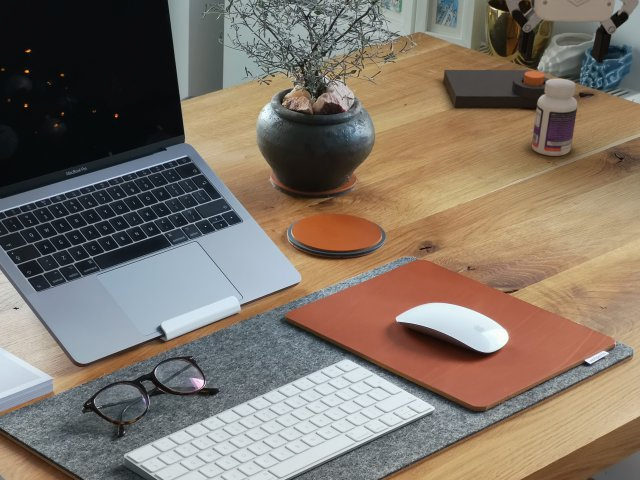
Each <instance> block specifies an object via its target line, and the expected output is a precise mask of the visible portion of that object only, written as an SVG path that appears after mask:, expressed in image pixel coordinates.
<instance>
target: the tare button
mask: <svg viewBox="0 0 640 480" xmlns="http://www.w3.org/2000/svg"><path fill="white" fill-rule="evenodd" d="M544 77H545V73H544V72H541V71H537V70H531V71H528V72H525V74H524V81H523V83H524V84H526V85H531V86H540V85H543V83H544Z"/></svg>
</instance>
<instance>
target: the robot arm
mask: <svg viewBox="0 0 640 480" xmlns="http://www.w3.org/2000/svg"><path fill="white" fill-rule="evenodd" d="M504 1H505V3H506V6H507V8H508V11H509V14H510V16H511V17H512V19H513V20H514V21H515V22H516V23H517V25H518V26H519V27H520V33H519V39H518V47H517V51H518V54H520V56H521V57H522V59H523V61H524V62H525V63H527V62H528V63H529V62H530V61H532V58H533V51H534V49H533V48H534V44H535V38H536V33H535V31H534V28H535V27H536V26H538V25H539V24H540V23H541V22H542V21H548V22H572V23H573V22H574V23H576V22H577V23H579V22H580V23H585V22H586V23H597V22H598V23H599V24H600V25H599V26H597V28H596V30H595V36H594V40H593V46H592V51H591V57H592V58H593V59H594V61H595V62H596V63H597V64H603V63H604V59H605V56H607V55H609V51H610V45H611V40H612V35H613V34H615V33H616V31H617V29H618V28H620V27H621V26H622V25H623V24H625V23H626V22H627V21H628V20H629V17H630V16H631V15H632V13H633V12H634V10H635V9H636V8H637V6H638V5H639V4H640V1H639V0H619V1H620V2H622V5H621V7H620V9H619V10H617V11H615V13H614V10H615V5H616V0H530V3H529V4H530V8H529V10H527V11H526V13H525V14H524V13H523V12H522V11H521V9H520V5H519V4H520V2H522V1H523V0H504Z"/></svg>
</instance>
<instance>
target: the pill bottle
mask: <svg viewBox="0 0 640 480" xmlns="http://www.w3.org/2000/svg"><path fill="white" fill-rule="evenodd" d="M549 79H550V80H547V81H546V84H545V91H544V92H545V94H544V95H542V96H541V97H540V98H539V99H538V102H537V108H535V109H536V110H535V117H534V124H533V130H532V140H531V148H532V150H533V151H534V152H536V153H538V154H541V155H543V156H544V155H545V156H551V157H559V156H564V155H567V154H569V152H570V151H571V149H572V145H573V138H574V132H575V131H574V130H575V125H576V120H577V119H576V118H577V112H578V107H579V106H578V101H577V99H576V98H575V97H574V96H575V93H576V85H577V84H576V82H574V81H573V80H571V79H566V78H549Z"/></svg>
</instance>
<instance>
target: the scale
mask: <svg viewBox="0 0 640 480" xmlns="http://www.w3.org/2000/svg"><path fill="white" fill-rule="evenodd" d="M443 70H444V71H443V83H444V86H445V88H446V90H447V93H448V95H449V97H450V100H451V102H452V104H453V106H454V108H457V109H458V108H462V109H463V108H465V109H467V108H469V109H470V108H471V109H472V108H473V109H477V108H478V109H489V108H490V109H499V108H500V109H502V108H503V109H509V108H510V109H537V102H538V99H539V98H540V97H541V96H542V95H544V94H545V92H544V91H545V84H546V81H547V80H550V79H551V78H548V77H545V76H544V83H543V85H540V86H531V85H526V84H524V83H523V81H524V74H525V72H528V71H532V69H443Z"/></svg>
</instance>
